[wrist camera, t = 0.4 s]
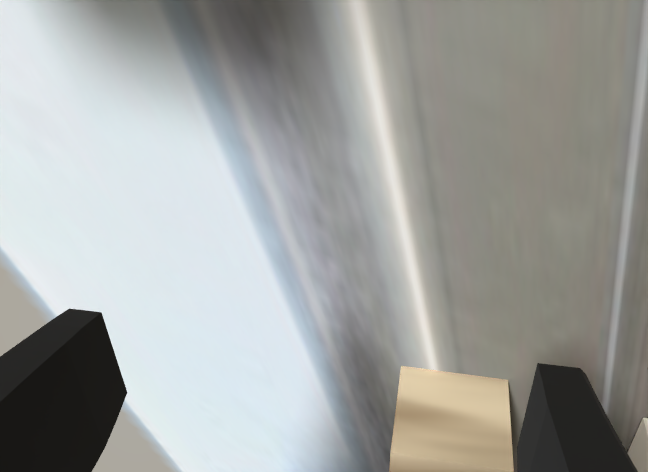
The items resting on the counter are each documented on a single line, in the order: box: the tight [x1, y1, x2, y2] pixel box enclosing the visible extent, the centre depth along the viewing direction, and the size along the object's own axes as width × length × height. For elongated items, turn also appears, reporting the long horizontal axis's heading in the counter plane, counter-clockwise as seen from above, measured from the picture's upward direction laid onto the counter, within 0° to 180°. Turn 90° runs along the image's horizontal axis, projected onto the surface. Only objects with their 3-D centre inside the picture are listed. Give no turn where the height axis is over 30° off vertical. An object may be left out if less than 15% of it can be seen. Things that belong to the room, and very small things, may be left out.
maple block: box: [389, 366, 514, 472], centre depth 23 cm, size 4×4×4 cm
